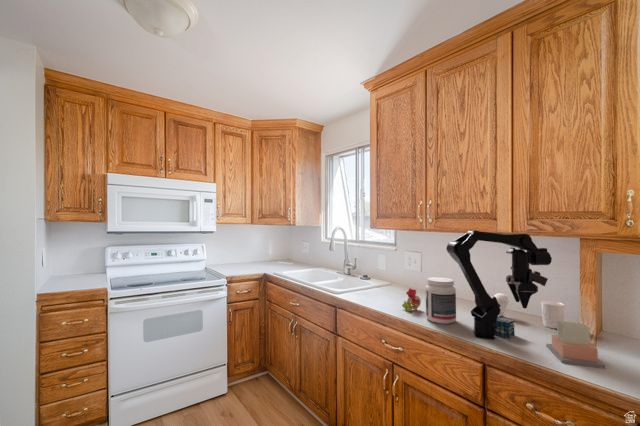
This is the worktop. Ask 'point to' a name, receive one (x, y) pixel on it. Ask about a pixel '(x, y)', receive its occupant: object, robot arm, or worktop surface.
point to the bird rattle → (412, 300)
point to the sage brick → (573, 333)
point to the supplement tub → (440, 300)
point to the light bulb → (502, 302)
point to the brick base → (575, 361)
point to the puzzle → (504, 327)
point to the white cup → (552, 313)
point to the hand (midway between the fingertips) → (521, 305)
